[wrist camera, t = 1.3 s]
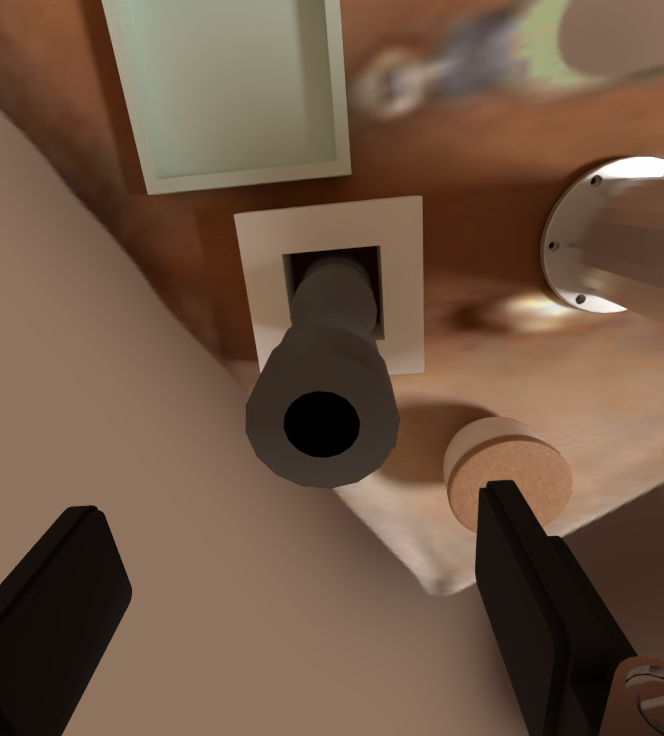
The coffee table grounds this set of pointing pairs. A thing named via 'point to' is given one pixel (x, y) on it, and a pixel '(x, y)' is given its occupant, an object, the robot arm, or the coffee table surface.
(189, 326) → the coffee table surface
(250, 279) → the socket block
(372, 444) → the candle holder
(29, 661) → the robot arm
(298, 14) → the parts tray
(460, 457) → the lidded jar
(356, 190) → the coffee table surface
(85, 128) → the coffee table surface
